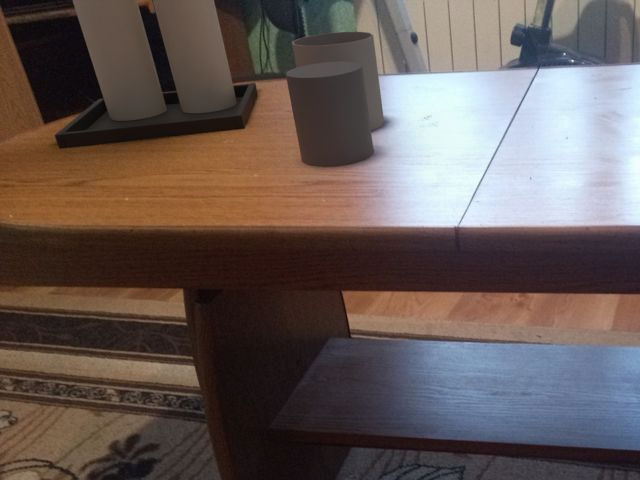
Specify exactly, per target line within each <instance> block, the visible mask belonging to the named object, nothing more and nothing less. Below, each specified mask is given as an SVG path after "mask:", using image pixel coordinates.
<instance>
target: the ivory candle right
mask: <svg viewBox="0 0 640 480" xmlns="http://www.w3.org/2000/svg"><path fill="white" fill-rule="evenodd" d="M152 3H153V7H154V12H155V15H156V18H157V23H158V27H159V30H160V33H161V37H162V42H163V45H164V48H165V52H166V56H167V59H168V64H169V67H170V71H171V75H172V79H173V82H174V86H175V91H177V94H178V98H179V101H180V105H181V109H182V111H183V112H185V113H208V112H215V111H220V110H224V109H228V108H230V107H233V106H235V105H236V104H237V101H236V96H235V92H234V87H233V85H234V84H233V83H234V82H233V79H232V74H231V70H230V65H229V61H228V57H227V56H228V55H227V52H226V48H225V44H224V39H223V35H222V30H221V25H220V21H219V17H218V12H217V8H216V3H215V0H152Z"/></svg>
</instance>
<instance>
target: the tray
mask: <svg viewBox="0 0 640 480" xmlns="http://www.w3.org/2000/svg"><path fill="white" fill-rule="evenodd" d="M233 87H234V92H235V96H236V101H237V104H236V105H235V106H233V107H230V108H228V109H224V110H220V111H215V112H208V113H185V112H183V111H182V109H181V105H180V101H179V98H178V94H177V90H170V91H162V94H163V97H164V101H165V104H166V108H167V111H166V112H164V113H162V114H160V115H157V116H154V117H150V118H145V119H140V120H132V121H115V120H111V119H110V117H109V114H108V110H107V107H106V104H105V101H104V98H102V97H101V98H98V99H97V100H96V101H94V102H93V103H92V104H91V105H90V106H88V107H86V109H85V110H83V111H82V112H81V113H80V114H79V115H77V116H76V117H75V118H74V119H72V120H71V121H70V122H69V123H68V124H66V125H65V126H63V127H62V128H61V129H60V130H59V131H58V132H56V133H55V134H54V139H55V140H56V144H57V146H58V148H59V149H70V148H71V149H72V148H79V147H88V146H97V145H98V146H99V145H106V144H107V145H108V144H117V143H127V142H135V141H144V140H152V139H163V138H170V137H180V136H190V135H200V134H209V133H218V132H226V131H237V130H244V129H245V128H246V127H247V123H248V121H249V118H250V115H251V113H252V111H253V108H254V105H255V103H256V100H257V97H258V95H259V94H258V90H257V84H256V82H250V83H241V84H239V83H238V84H233Z"/></svg>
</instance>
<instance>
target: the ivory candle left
mask: <svg viewBox="0 0 640 480" xmlns="http://www.w3.org/2000/svg"><path fill="white" fill-rule="evenodd" d="M72 3H73V7H74V10H75V13H76V17H77V19H78V22H79V25H80V29H81V32H82V34H83V38H84V41H85V44H86V47H87V50H88V53H89V57H90V59H91V63H92V66H93V69H94V72H95V73H94V74H95V76H96V79H97V81H98V82H97V83H98V86H99V88H100V92H101V95H102V97H103V98H104V101H105V104H106V107H107V110H108V114H109V117H110V119H111V120H115V121H132V120H140V119H145V118H150V117H154V116H157V115H160V114H162V113H164V112H166V111H167V108H166V104H165V101H164V97H163V94H162V92H163V90H162V87H161V83H160V79H159V76H158V72H157V68H156V64H155V61H154V58H153V54H152V50H151V47H150V43H149V40H148V36H147V33H146V28H145V25H144V20H143V18H142V15H141V11H140V7H139V4H138V0H72Z"/></svg>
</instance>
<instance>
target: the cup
mask: <svg viewBox="0 0 640 480" xmlns="http://www.w3.org/2000/svg"><path fill="white" fill-rule="evenodd" d="M291 46H292V50H293V56H294V62H295V66H296V67H295V68H297V67H301V66H305V65H310V64H317V63H326V62H355V63H359V64H361V65H362V68H363V75H364V83H365V90H366V98H367V105H368V112H369V120H370V127H371V132H373V131H375V130H377V129H380V128H381V127H383V125H384V124H385V118H384V117H385V116H384V110H383V101H382V95H381V86H380V78H379V70H378V69H379V68H378V61H377V55H376V46H375V39H374V34H373V33H371V32H365V31H339V32H327V33H320V34H314V35H308V36H305V37H304V36H303V37H301V38H297V39H295V40H293V41H291Z"/></svg>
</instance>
